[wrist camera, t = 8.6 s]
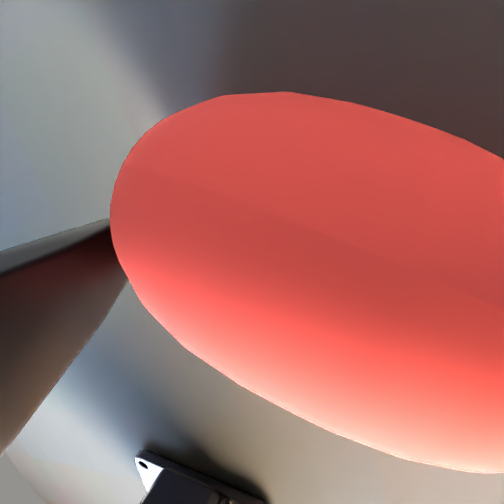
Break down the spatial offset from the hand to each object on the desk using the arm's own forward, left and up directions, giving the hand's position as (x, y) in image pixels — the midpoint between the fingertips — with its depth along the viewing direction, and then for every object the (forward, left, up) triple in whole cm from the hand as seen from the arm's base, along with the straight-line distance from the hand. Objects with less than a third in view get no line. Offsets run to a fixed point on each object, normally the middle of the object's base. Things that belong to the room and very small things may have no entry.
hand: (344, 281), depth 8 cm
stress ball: (0, 0, -3) cm, 3 cm away
